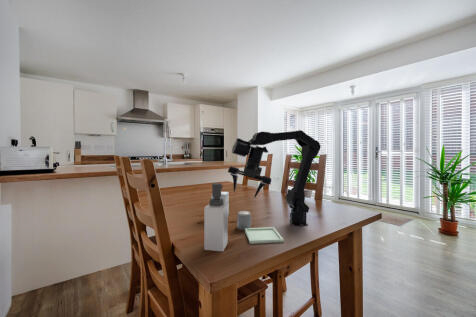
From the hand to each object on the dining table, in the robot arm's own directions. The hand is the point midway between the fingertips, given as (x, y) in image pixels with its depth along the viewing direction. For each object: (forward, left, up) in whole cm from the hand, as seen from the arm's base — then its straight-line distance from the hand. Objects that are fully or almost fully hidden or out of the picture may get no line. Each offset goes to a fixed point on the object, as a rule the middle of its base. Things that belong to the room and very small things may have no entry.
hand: (244, 194), depth 92 cm
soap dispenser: (+12, +16, -15) cm, 25 cm away
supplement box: (+10, -15, -15) cm, 24 cm away
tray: (-6, +10, -15) cm, 19 cm away
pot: (0, 0, -15) cm, 15 cm away
